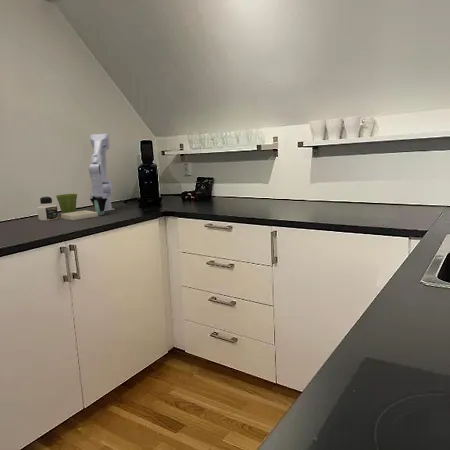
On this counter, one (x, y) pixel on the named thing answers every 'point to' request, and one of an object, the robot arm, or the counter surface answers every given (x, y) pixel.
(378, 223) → the counter surface
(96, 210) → the pale teal cylinder
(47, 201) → the medicine bottle
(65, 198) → the plant pot
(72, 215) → the cream tray
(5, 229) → the counter surface
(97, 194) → the robot arm
